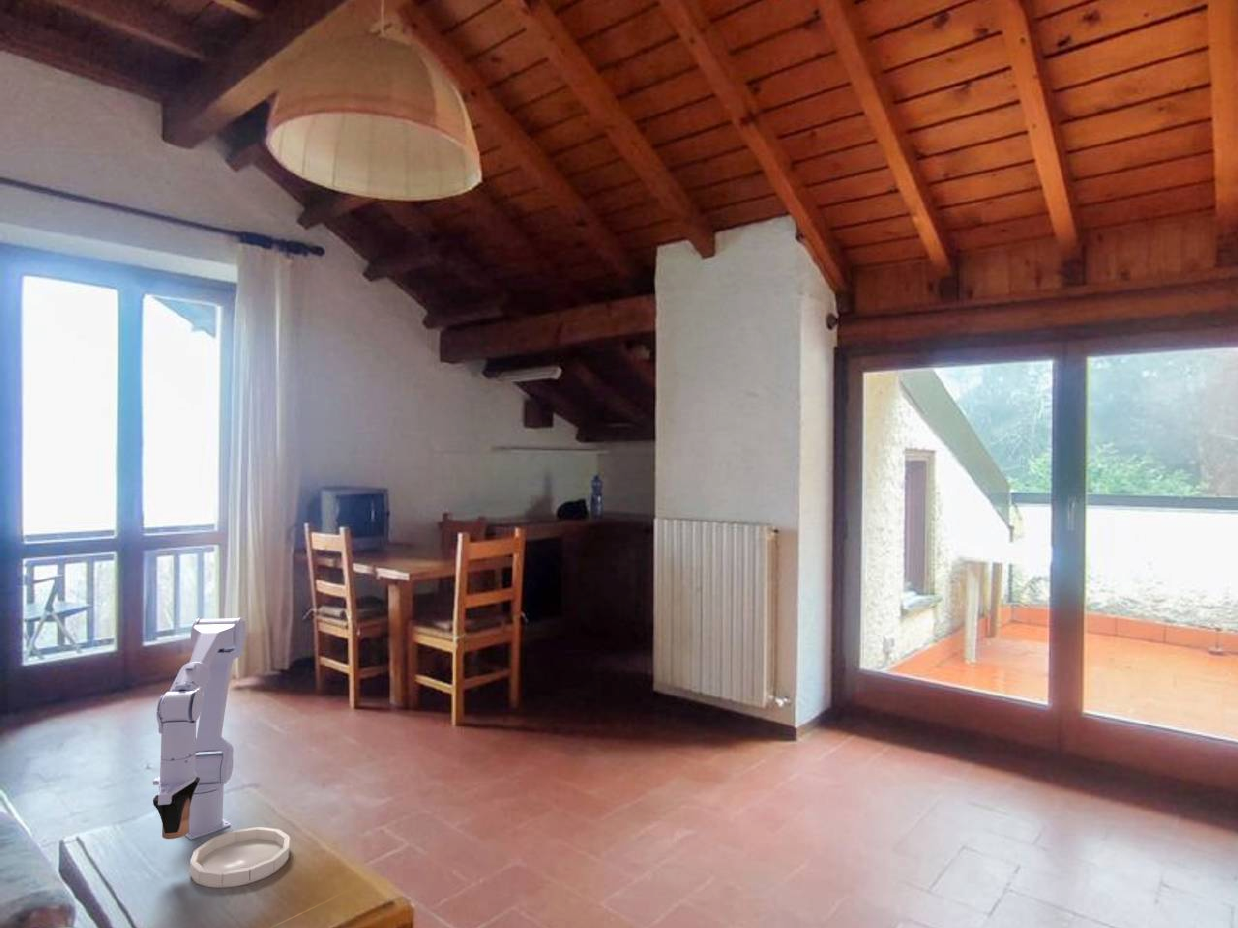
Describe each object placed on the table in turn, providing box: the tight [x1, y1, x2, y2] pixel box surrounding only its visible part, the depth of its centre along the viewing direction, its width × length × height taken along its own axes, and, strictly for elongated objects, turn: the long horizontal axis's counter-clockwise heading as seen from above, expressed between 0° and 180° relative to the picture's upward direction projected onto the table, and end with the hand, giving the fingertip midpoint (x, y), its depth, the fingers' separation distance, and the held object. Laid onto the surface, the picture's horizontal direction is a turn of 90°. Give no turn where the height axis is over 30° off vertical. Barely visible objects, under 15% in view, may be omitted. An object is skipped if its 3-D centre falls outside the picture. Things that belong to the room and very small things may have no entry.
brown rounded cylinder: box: [161, 798, 190, 840], centre depth 138 cm, size 4×4×6 cm
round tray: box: [188, 826, 291, 889], centre depth 141 cm, size 17×17×3 cm
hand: (176, 825), depth 138 cm, fingers closed on brown rounded cylinder, 4 cm apart
